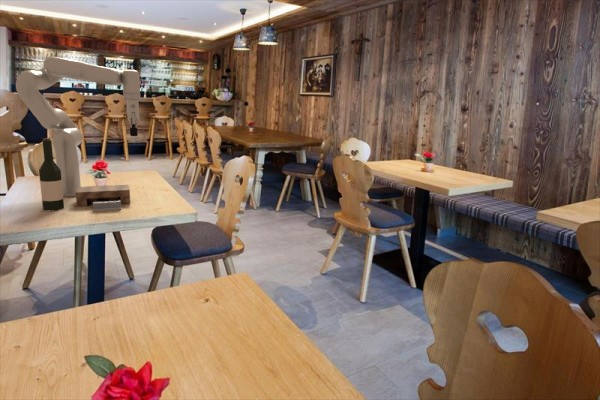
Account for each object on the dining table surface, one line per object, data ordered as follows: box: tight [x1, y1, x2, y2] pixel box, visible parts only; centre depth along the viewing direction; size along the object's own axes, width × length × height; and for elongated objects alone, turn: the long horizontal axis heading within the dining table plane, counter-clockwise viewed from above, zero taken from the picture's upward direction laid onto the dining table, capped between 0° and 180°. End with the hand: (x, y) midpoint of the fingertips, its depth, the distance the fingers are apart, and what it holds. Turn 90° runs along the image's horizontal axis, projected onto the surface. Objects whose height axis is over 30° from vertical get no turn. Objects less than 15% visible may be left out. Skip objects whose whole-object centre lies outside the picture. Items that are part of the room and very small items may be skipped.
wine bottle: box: [38, 137, 65, 211], centre depth 186 cm, size 8×8×30 cm
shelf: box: [75, 184, 131, 208], centre depth 202 cm, size 22×12×6 cm, turn 114°
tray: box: [92, 199, 122, 212], centre depth 196 cm, size 11×16×4 cm
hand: (133, 136), depth 212 cm, fingers closed
